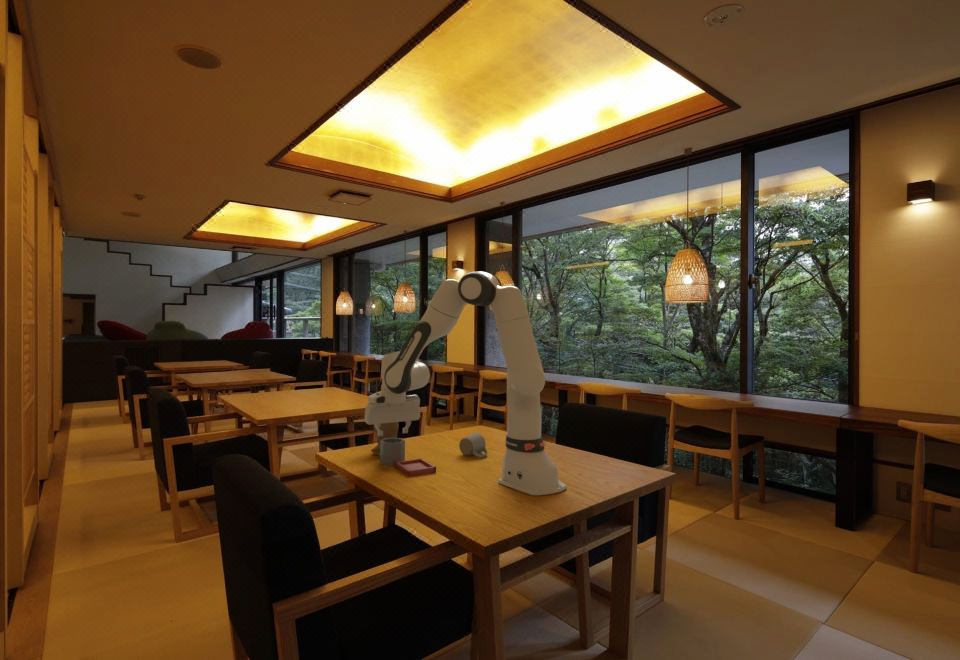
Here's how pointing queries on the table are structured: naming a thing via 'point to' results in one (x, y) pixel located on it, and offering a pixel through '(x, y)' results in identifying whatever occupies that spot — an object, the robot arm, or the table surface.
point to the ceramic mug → (473, 445)
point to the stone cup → (385, 434)
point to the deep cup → (392, 451)
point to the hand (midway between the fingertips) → (392, 434)
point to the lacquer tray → (415, 467)
